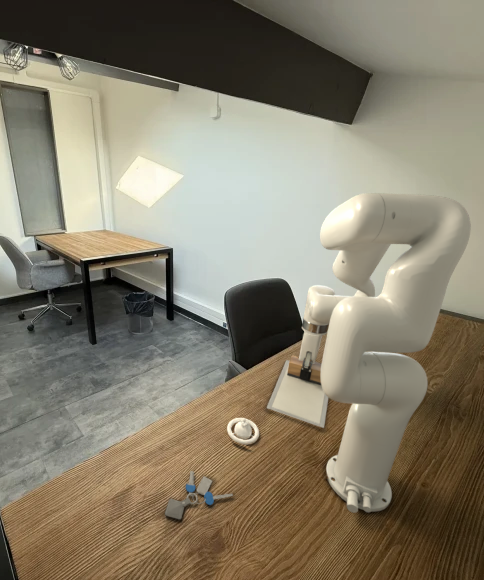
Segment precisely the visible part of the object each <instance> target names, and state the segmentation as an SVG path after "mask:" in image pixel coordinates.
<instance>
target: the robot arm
mask: <svg viewBox="0 0 484 580" xmlns="http://www.w3.org/2000/svg"><path fill="white" fill-rule="evenodd" d="M471 228H472V226H471V218H470V216H469V212H468V211H467V209H466V208H465V207H464V205H462V203H461V202H458V201H457V200H455V199H453V198H450V197H446V196H440V195H435V194H420V193H385V192H366V193H359V194H356V195H354V196H352V197H350V198H349V199H348V200H346V201H344V202H342V203H341V204H339V205H338V206H336V207H335V208H334V209H332V210H331V211H330V212H329V213H328V215H326V217H325V219H324V221H323V222H322V224H321V227H320V231H319V241H320V244H321V246H322V247H323V249H326V250H328V251H338V254H337V255H336V257H335V260H334V261H333V263H332V267H331V268H332V272H333V273H332V274H333V275H334V276H335V277H336V279H338V280H339V281H340V282H341V283H344V284H345V285H347V286H349V287H351V288H353V289H355V290H356V292H355V293H354V294H353V295H336V292H335V290H334V289H333V288H332V287H329V286H327V285H321V284H315V285H311V286H309V288H308V291H307V295H306V301H305V306H304V307H305V308H304V313H303V318H302V324H301V329H302V330H303V331H304V332H303V334H302V341H301V345H300V349H299V354H298V355H299V356H298V357H299V360H301V361H303V364H302V368H301V371H300V377H299V378H300V379H301V380H305V381H308V382H309V381H310V377H311V372H312V370H311V368H312V364H314V363H315V362H317V361H316V360H317V357H318V354H319V351H320V348H321V344H322V341H323V340H322V339H323V336H325V335H326V338H325V342H324V343H325V344H324V349H323V354H322V359H321V363H322V364H321V374H320V379H321V385H322V389H323V391H324V393H325V394H326V395H327V396H328V399H330V400H332V401H333V402H337V403H341V404H351V405H350V407H349V411H348V414H347V418H346V421H345V424H344V425H345V426H344V429H343V432H342V433H343V434H342V436H341V440H340V441H341V442H340V445H339V449H338V452H337V454H336V455H333V456H332V457H330V458H329V460H328V461H327V463H326V470H325V471H326V476H327V481H328V483H329V485H330V487H331V489H332V490H333V491H334V492H335V493H336V494H337V495H338V496H339V497H340V498H341V499H342V500H343V501H345V502H346V509H347V511H349V512H350V513H354V514H357V513H358V512H359V510H363V511H364V512H365V513H371V512H381V511H383V510H385V509H387V508H388V507H389V505H390V503H391V501H392V498H393V495H392V494H393V491H392V487H391V485H390V483H389V481H388V479H389V477H390V475H391V471H392V468H393V465H394V462H395V459H396V457H397V453H398V451H399V448H400V446H401V443H402V439H403V438H404V434H405V431H406V429H407V426H408V424H409V422H410V420H411V418H412V417H413V415H414V413H415V412H416V410H417V409H418V408H419V406H421V403H422V402H423V400H424V398H425V396H426V394H427V391H428V384H429V383H428V375H427V373H426V371H425V369H424V367H423V366H422V365H421V364H420V363H419V362H418V361H417V360H415V359H414V358H412V357H411V356H409V355H405V354H403V353H417V352H421V351H423V350H424V349H425V348H426V347H427V346H428V345H429V343H430V340H431V339H432V336H433V334H434V331H435V328H436V324H437V321H438V319H439V314H440V312H441V308H442V305H443V302H444V299H445V295H446V292H447V289H448V286H449V282H450V281H451V277H452V275H453V273H454V272H455V269H456V268H457V266H458V264H459V262H460V260H461V258H462V257H463V255H464V253H465V251H466V249H467V246H468V244H469V240H470V236H471V231H472V230H471ZM391 245H408V246H410V247H409V248H408V249H406V250H405V251H404V252H403V253H401V254H400V255H399V256H398V257H397V258H396V259H395V261H393V263H392V264H391V265H390V266H389V268H388V270H386V271H387V272H386V274H385V278H384V282H383V287H382V290H381V292H380V294H379V295H377V296H376V287H375V284H374V281H373V280H372V278H371V276H372V275H373V273H374V272H375V271H376V269H377V267H378V266H379V264H380V263H381V260H382V259H383V257H384V256H385V255H386V252H387V251H388V250H389V248H390V246H391ZM303 359H304V360H303ZM305 359H306V360H305ZM310 360H312V361H310ZM304 364H305V365H304ZM309 364H310V366H309ZM325 394H324V395H325Z"/></svg>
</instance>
